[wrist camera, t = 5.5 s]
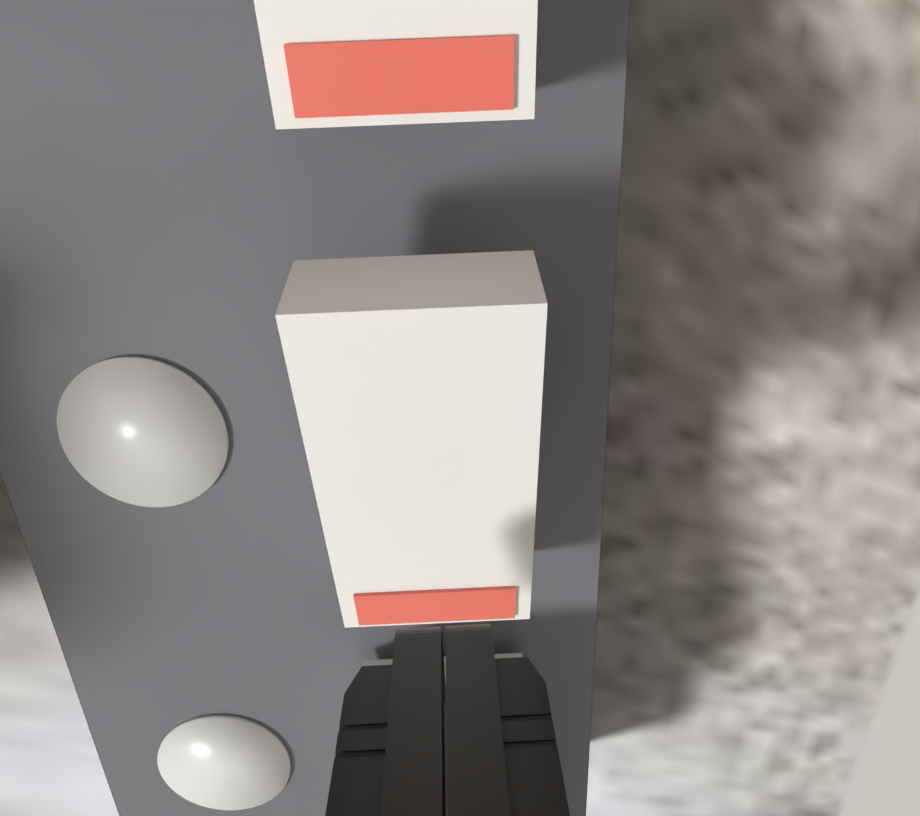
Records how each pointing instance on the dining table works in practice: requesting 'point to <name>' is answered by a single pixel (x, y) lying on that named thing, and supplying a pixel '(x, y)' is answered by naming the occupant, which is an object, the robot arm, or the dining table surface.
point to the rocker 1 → (398, 61)
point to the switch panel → (262, 374)
